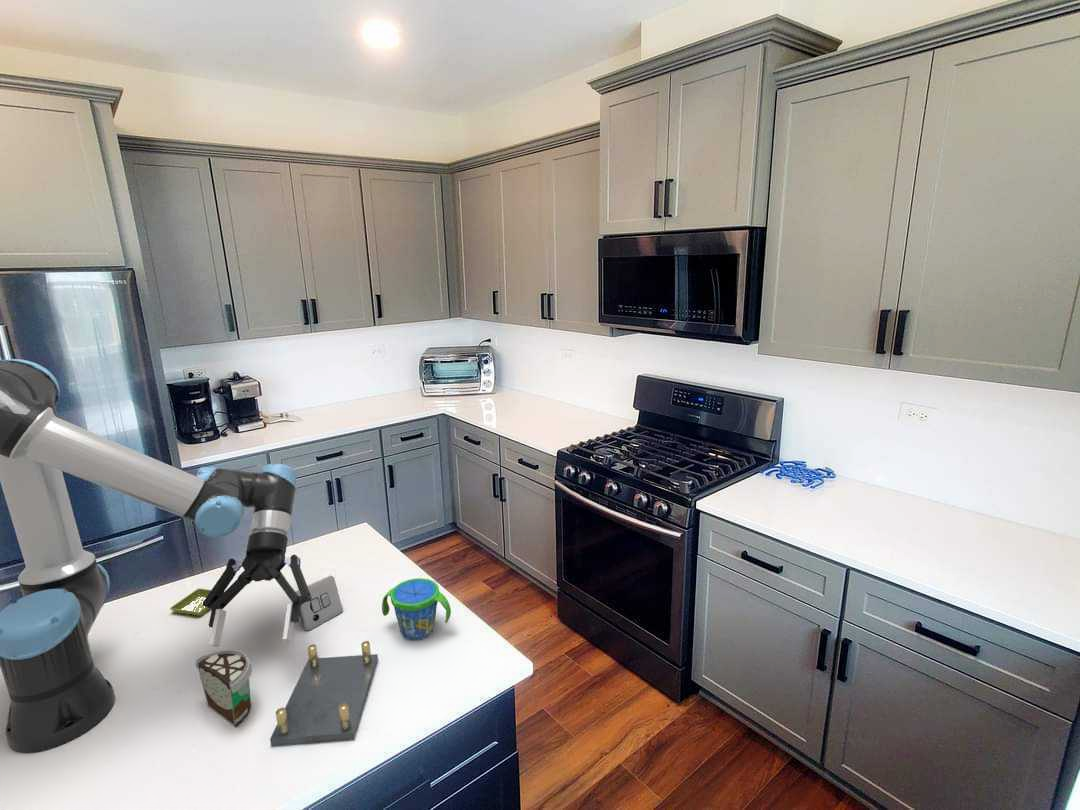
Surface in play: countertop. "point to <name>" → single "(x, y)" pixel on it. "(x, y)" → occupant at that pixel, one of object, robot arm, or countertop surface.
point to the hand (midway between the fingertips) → (250, 643)
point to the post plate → (326, 699)
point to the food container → (226, 684)
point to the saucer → (189, 599)
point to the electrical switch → (320, 603)
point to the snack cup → (416, 606)
